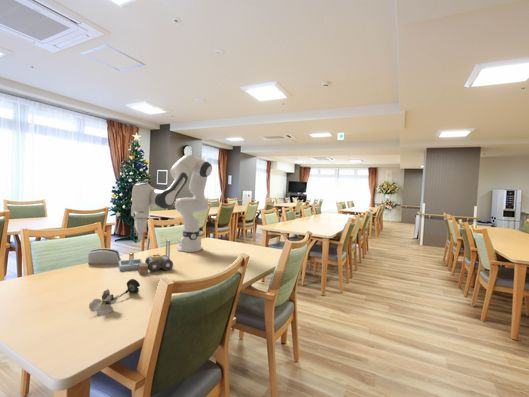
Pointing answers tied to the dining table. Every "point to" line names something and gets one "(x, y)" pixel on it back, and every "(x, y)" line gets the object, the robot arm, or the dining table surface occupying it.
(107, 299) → the artificial flower
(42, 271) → the dining table surface
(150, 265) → the trolley
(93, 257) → the grey curved block
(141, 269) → the chock
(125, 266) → the tray
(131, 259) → the pin
